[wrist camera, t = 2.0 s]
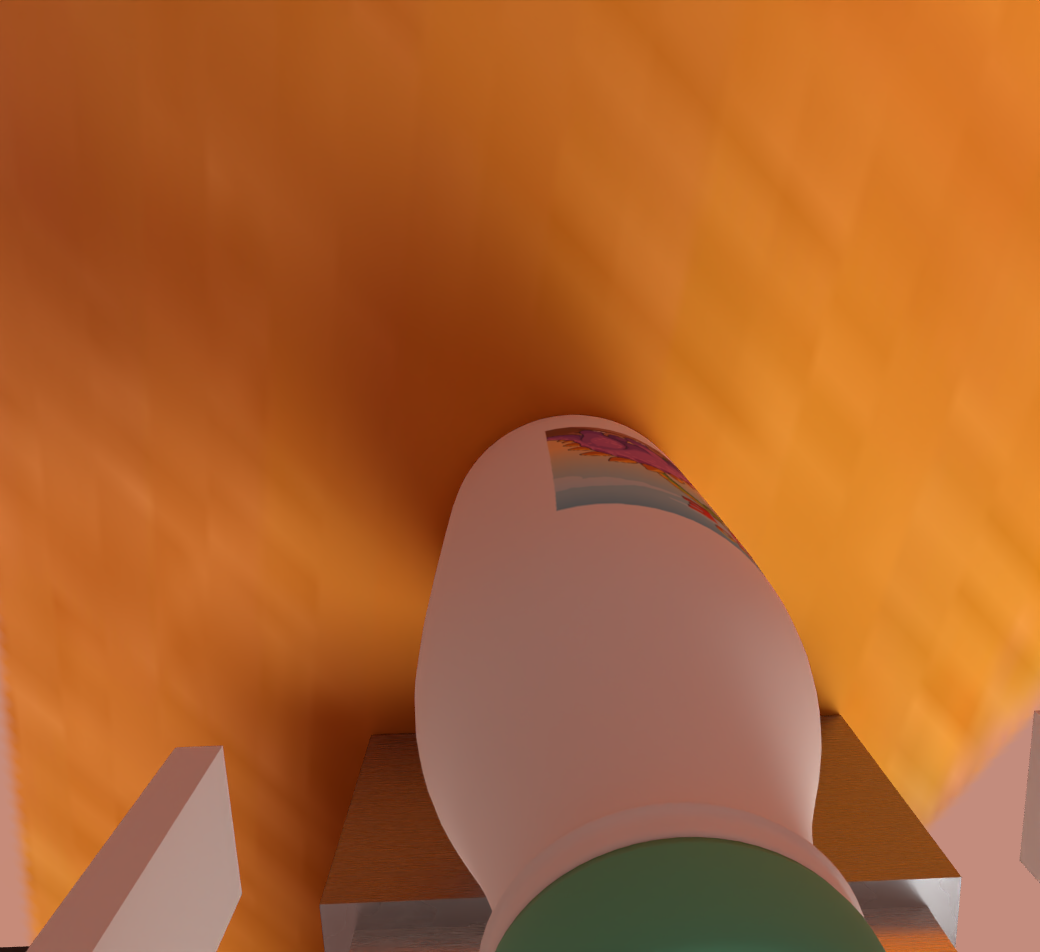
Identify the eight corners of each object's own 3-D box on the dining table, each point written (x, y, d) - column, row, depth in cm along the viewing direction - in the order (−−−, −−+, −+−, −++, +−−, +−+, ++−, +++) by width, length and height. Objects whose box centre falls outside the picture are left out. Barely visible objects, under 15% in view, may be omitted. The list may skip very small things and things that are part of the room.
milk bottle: (532, 681, 29) (575, 1545, 9) (403, 493, 27) (127, 1053, 8) (733, 564, 28) (1255, 1248, 8) (612, 363, 26) (903, 621, 7)
